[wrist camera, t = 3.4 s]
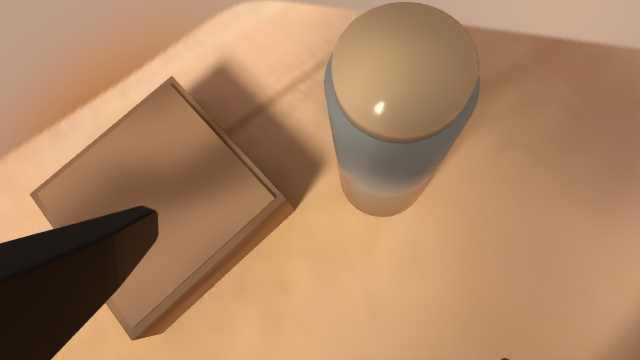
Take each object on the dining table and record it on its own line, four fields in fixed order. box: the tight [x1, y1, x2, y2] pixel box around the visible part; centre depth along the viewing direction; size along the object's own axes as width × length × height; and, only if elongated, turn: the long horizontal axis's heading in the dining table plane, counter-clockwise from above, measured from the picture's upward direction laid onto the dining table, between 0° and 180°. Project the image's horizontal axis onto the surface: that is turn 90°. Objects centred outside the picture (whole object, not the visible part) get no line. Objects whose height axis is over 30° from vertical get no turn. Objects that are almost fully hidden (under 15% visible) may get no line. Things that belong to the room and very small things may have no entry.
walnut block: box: [30, 76, 295, 340], centre depth 22 cm, size 10×10×3 cm
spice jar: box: [324, 2, 479, 217], centre depth 17 cm, size 5×5×12 cm
